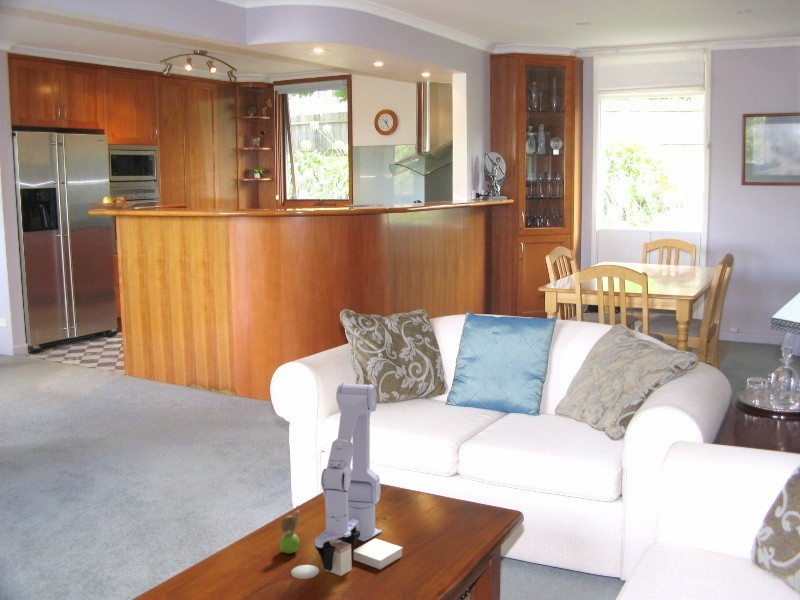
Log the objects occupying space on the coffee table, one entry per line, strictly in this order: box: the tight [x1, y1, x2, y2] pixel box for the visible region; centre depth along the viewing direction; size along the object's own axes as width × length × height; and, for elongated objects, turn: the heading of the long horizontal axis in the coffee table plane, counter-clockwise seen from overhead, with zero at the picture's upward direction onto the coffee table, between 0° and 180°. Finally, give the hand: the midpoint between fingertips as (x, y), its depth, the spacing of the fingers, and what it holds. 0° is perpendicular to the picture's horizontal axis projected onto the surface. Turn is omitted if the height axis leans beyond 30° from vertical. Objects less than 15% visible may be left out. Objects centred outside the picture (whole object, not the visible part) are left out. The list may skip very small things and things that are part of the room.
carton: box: [324, 538, 353, 577], centre depth 213 cm, size 6×4×7 cm
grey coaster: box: [290, 564, 320, 580], centre depth 212 cm, size 7×7×1 cm
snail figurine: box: [278, 505, 301, 554], centre depth 223 cm, size 5×6×12 cm
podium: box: [353, 538, 404, 570], centre depth 219 cm, size 9×9×2 cm
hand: (338, 563), depth 213 cm, fingers open, 7 cm apart
